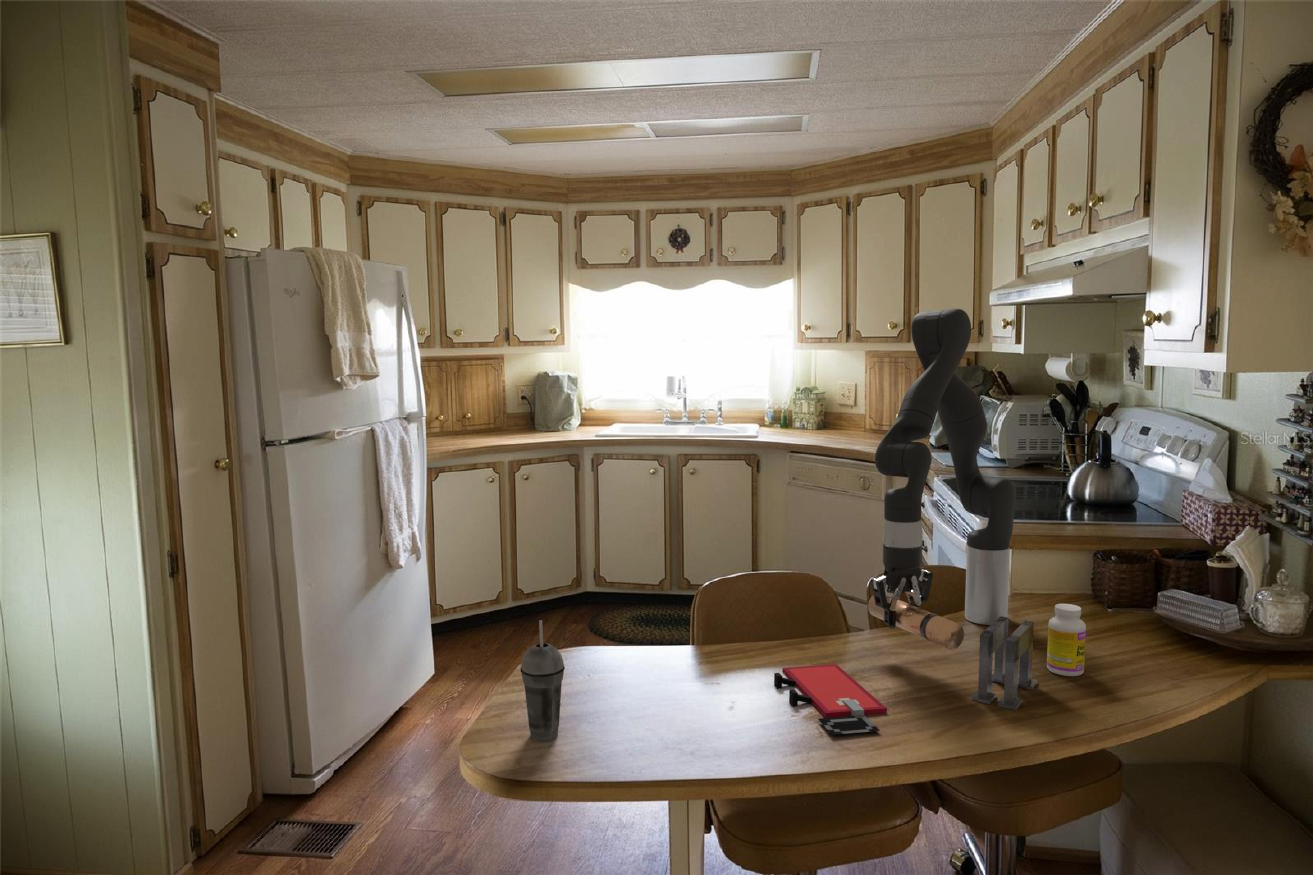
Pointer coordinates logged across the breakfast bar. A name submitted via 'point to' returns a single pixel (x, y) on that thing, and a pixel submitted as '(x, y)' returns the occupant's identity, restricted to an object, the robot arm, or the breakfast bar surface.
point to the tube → (923, 624)
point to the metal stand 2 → (1015, 648)
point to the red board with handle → (832, 697)
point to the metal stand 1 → (991, 659)
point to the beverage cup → (543, 688)
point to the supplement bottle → (1066, 641)
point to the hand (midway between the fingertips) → (901, 624)
